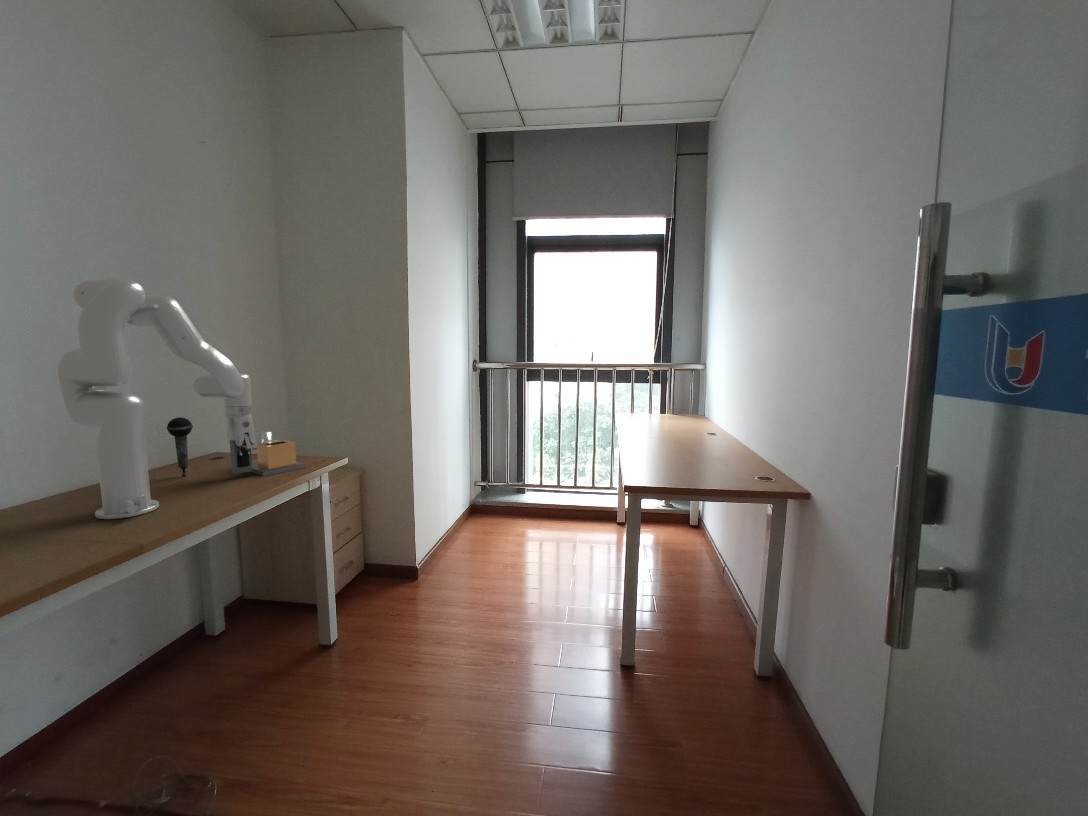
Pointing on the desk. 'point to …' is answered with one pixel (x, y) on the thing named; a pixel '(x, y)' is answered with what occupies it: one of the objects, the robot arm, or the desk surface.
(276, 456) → the orange slotted box
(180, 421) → the microphone
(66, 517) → the desk surface
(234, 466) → the grey rectangular block
